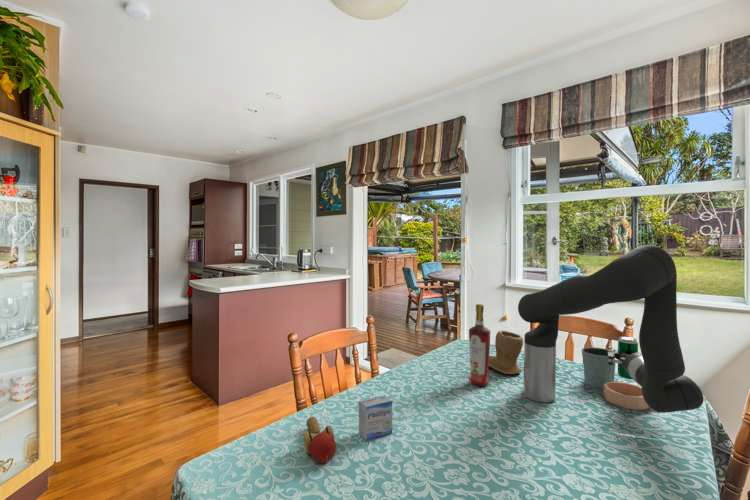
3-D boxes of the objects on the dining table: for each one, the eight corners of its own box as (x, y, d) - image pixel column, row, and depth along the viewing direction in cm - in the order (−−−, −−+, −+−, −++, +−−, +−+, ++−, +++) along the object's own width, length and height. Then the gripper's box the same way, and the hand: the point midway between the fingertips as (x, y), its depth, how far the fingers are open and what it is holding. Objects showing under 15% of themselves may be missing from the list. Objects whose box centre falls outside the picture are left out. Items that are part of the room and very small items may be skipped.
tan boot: (530, 374, 131) (530, 335, 131) (503, 378, 128) (503, 337, 128) (504, 361, 146) (504, 326, 146) (479, 364, 142) (479, 328, 142)
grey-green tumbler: (621, 387, 120) (621, 352, 120) (608, 394, 114) (608, 358, 114) (589, 377, 128) (590, 345, 128) (575, 383, 123) (576, 350, 122)
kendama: (294, 436, 92) (305, 467, 75) (298, 411, 93) (310, 436, 76) (323, 436, 94) (340, 466, 78) (326, 411, 96) (343, 436, 79)
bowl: (609, 406, 105) (610, 393, 105) (600, 390, 116) (600, 379, 116) (656, 412, 101) (657, 399, 101) (642, 396, 112) (642, 384, 112)
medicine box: (365, 441, 87) (365, 407, 87) (358, 433, 91) (358, 400, 91) (393, 433, 91) (392, 400, 90) (384, 425, 95) (384, 394, 94)
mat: (606, 406, 105) (606, 405, 105) (597, 392, 116) (597, 391, 116) (659, 414, 101) (659, 412, 101) (645, 398, 111) (645, 397, 111)
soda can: (641, 380, 105) (641, 340, 105) (622, 379, 106) (622, 340, 106) (632, 374, 110) (632, 336, 110) (614, 373, 111) (614, 336, 111)
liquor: (464, 384, 122) (465, 304, 122) (474, 378, 128) (474, 302, 128) (485, 389, 118) (485, 307, 117) (493, 383, 123) (493, 304, 123)
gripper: (677, 359, 92) (652, 343, 108) (613, 354, 97) (598, 339, 113) (677, 388, 92) (652, 367, 108) (613, 380, 97) (598, 362, 113)
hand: (625, 353), depth 110 cm, fingers closed on soda can, 5 cm apart
